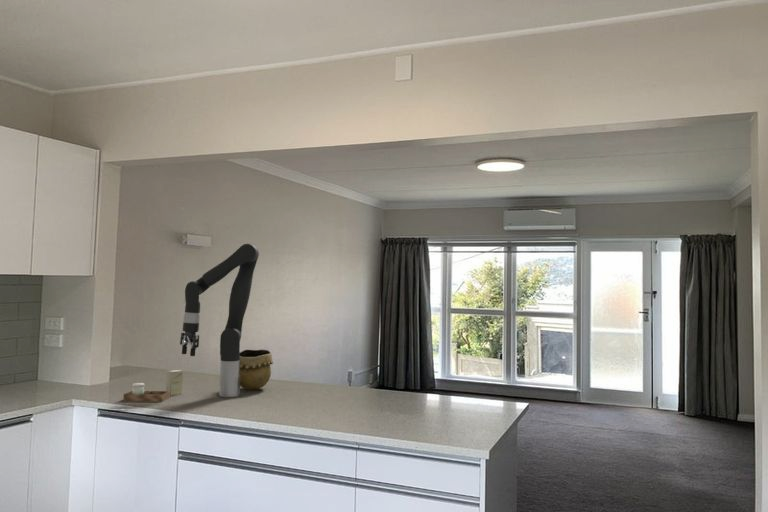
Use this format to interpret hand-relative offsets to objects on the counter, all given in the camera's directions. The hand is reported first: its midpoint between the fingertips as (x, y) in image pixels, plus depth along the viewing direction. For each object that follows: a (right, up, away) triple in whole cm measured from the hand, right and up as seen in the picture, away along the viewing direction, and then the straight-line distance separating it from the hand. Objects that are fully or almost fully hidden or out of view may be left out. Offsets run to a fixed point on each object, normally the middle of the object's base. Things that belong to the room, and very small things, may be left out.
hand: (188, 355), depth 281 cm
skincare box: (-6, -20, -3) cm, 21 cm away
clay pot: (+27, -21, +18) cm, 39 cm away
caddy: (-14, -19, -15) cm, 28 cm away
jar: (-18, -18, -15) cm, 30 cm away
